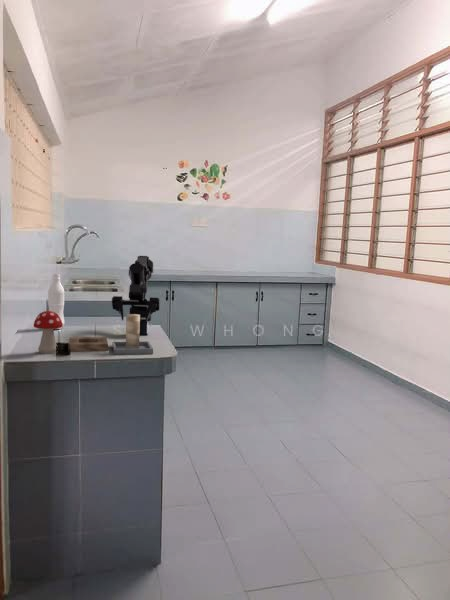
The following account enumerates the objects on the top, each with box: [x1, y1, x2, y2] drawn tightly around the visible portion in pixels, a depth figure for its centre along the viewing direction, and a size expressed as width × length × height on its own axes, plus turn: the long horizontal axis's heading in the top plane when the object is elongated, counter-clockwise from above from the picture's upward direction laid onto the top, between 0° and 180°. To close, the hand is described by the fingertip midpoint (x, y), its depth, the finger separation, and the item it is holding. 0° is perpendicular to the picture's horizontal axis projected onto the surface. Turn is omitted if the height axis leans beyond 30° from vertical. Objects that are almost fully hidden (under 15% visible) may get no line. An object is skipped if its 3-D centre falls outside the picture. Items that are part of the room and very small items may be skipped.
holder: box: [68, 336, 109, 352], centre depth 191 cm, size 14×14×2 cm
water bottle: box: [47, 273, 66, 330], centre depth 225 cm, size 7×7×25 cm
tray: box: [111, 341, 154, 356], centre depth 189 cm, size 14×14×2 cm
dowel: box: [125, 313, 140, 349], centre depth 188 cm, size 5×5×13 cm
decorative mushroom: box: [33, 310, 63, 355], centre depth 179 cm, size 10×9×15 cm
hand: (134, 320), depth 196 cm, fingers open, 9 cm apart
